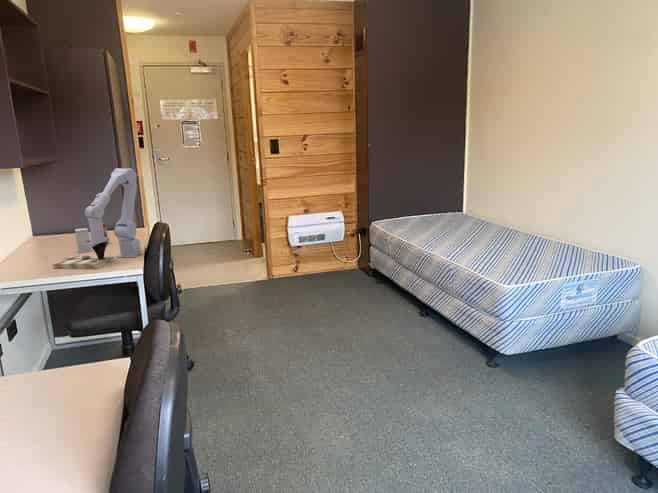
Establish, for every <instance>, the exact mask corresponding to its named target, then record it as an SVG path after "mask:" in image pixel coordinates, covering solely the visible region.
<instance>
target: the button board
mask: <svg viewBox="0 0 658 493" xmlns="http://www.w3.org/2000/svg"><path fill="white" fill-rule="evenodd" d="M83 256H84V255H82V256H81V255H79V256H78V255H76V256H75V255H70V256H67V257H66V258H65V257H64V258H63V259H60V260H58V261H55V262H53V263H52V269H56V270H57V269H60V270H61V269H63V270H67V269H74V270H99V269H101V268H103V267H105V266H108V265H110V264H112V263H114V262H115V260H114V256H104V258H105V259H104V260H98V257H97V255H96V256H95V255H94V256H93V255H88V256H89V257H90V259H88V260H82V257H83ZM72 257H74V258H75V259H73V260H67V259H68V258H72Z"/></svg>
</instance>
